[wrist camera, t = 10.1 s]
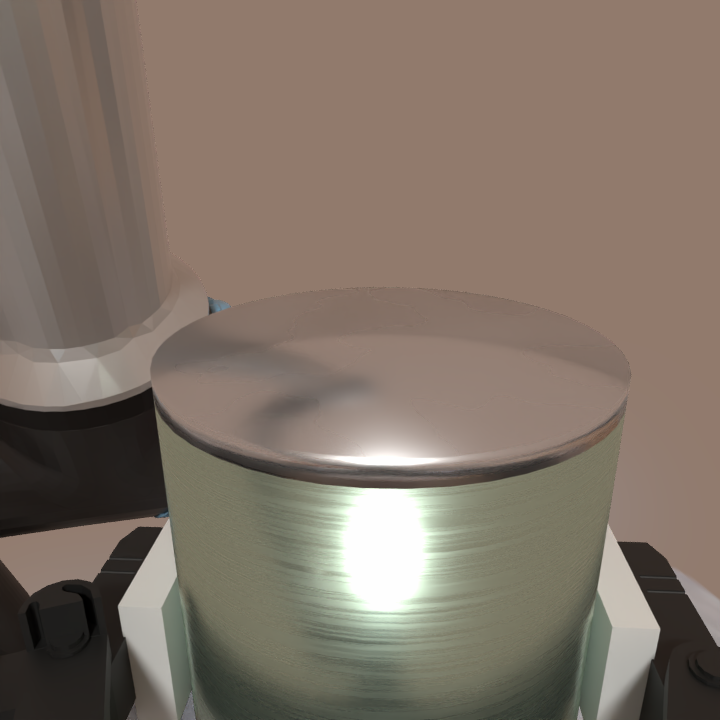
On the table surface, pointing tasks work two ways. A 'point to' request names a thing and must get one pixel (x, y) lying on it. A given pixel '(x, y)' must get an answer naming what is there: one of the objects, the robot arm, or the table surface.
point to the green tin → (388, 503)
